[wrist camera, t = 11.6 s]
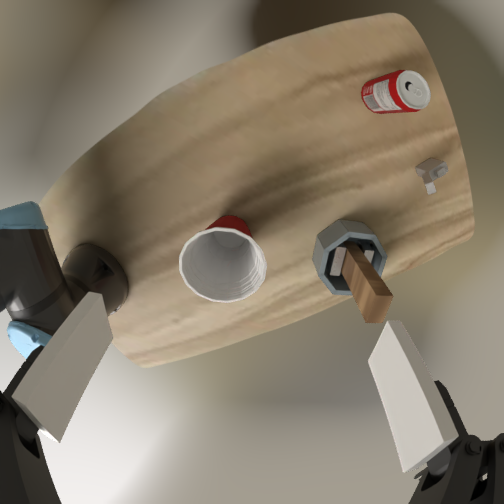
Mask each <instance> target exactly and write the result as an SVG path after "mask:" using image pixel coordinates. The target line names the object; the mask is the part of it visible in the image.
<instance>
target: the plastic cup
mask: <svg viewBox="0 0 504 504" xmlns="http://www.w3.org/2000/svg"><path fill="white" fill-rule="evenodd" d="M266 268H267V263H266V260H265V257H264V253H263V250H262V249H261V248H260V247H259V246H258V244H257V243H256V242H255V241H254V240H253V238H252V235H251V233H250V230H249V229H248V226H247V225H246V223H245V222H244V221H243V220H242V219H240V218H238V217H236V216H229V215H228V216H224V217H221V218H219V219H218V220H216V221H215V222H214V223H212V224H211V225H210V226H209V227H208V228H206V229H205V230H203V231H200V232H198V233H197V234H196V235H195V236H193V237H192V238H191V239H190V240H188V241H187V242H186V243H185V245H184V247H183V249H182V251H181V254H180V256H179V271H180V273H181V275H182V277H183V279H184V281H185V283H186V285H187V286H188V287H189V288H190V289H191V290H193V291H194V292H195V293H196V294H197V295H199V296H201V297H203V298H206V299H208V300H210V301H215V302H225V303H229V302H234V301H239V300H243V299H245V298H247V297H248V296H250V295H251V294H253V293H254V292H256V291H257V290H258V288H259V287H260V285H261V284H262V283H263V281H264V280H265V274H266Z"/></svg>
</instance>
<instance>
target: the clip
mask: <svg viewBox="0 0 504 504" xmlns="http://www.w3.org/2000/svg"><path fill="white" fill-rule="evenodd" d="M356 244H357V246H358V247H359V248H360V250H361V251H362V252H363V254H364V255H365V256H366V258H367V259H368V260H369V262H370V263H371V261H372V258H373V254H374V250H373V249H372V248H371V246H370V245H369V244H368V243H367V242H366V241H363V240H357V243H356ZM345 252H346V246H345V245H344V243H343V242H342V243H341V244H340V245H338V246H337V247H335V248H334V249H333V250H331V251H330V252H329V254H328V259H327V263H326V268H327V270H328V272H329V274H330V275H334V276H339V275H340V272H341V268H342V264H343V260H344V256H345Z"/></svg>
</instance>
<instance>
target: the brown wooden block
mask: <svg viewBox="0 0 504 504" xmlns="http://www.w3.org/2000/svg"><path fill="white" fill-rule="evenodd" d="M343 243H344V245H345V246H346V252H345V256H344V260H343V264H342V268H341V272H342V274H343V276H344V278H345V280H346V282H347V284H348V286H349V288H350V290H351V292H352V295H353V297H354V299H355V301H356V303H357V305H358V307H359V309H360V311H361V313H362V315H363V318H364V319H365V322H366V323H382V322H383V320H384V318H385V316H386V313H387V311H388V309H389V306H390V304H391V301H392V298H393V295H392V293H391V292H390V290H389V289H388V287H387V286H386V285H385V283H384V282H383V280H382V279H381V277H380V276H379V274H378V273H377V272H376V270H375V269H374V267H373V266H372V265H371V263H370V262H369V260H368V259H367V258H366V256H365V255H364V254H363V252H362V251H361V250H360V248H359V247H358V246H357V244H356V243H355V242H353V241H344V242H343Z"/></svg>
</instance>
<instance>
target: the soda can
mask: <svg viewBox="0 0 504 504" xmlns="http://www.w3.org/2000/svg"><path fill="white" fill-rule="evenodd" d="M361 96H362V100H363V102H364V104H365V105H366V107H367V108H368V109H369V110H371V111H372V112H374V113H379V114H384V113H401V112H417V111H419V110H421V109H423V108H425V107H426V106H427V105H428V103H429V101H430V97H431V94H430V89H429V86H428V84H427V82H426V80H425V79H424V78H423V77H422V76H421V75H420V74H419V73H417V72H415V71H408V70H398V71H395V72H393V73H390V74H387V75H384V76H381V77H378V78H376V79H373V80H370V81H368V82H367V83H365V84H364V86H363V87H362V91H361Z"/></svg>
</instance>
